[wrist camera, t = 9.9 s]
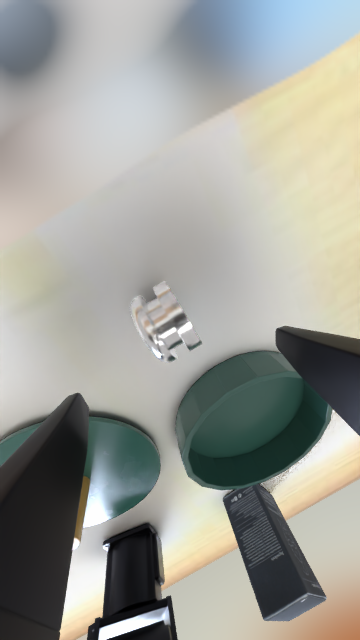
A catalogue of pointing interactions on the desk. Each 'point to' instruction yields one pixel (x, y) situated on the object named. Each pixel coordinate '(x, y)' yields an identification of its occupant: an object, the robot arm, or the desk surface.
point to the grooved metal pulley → (163, 324)
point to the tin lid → (106, 469)
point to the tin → (248, 421)
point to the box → (271, 555)
